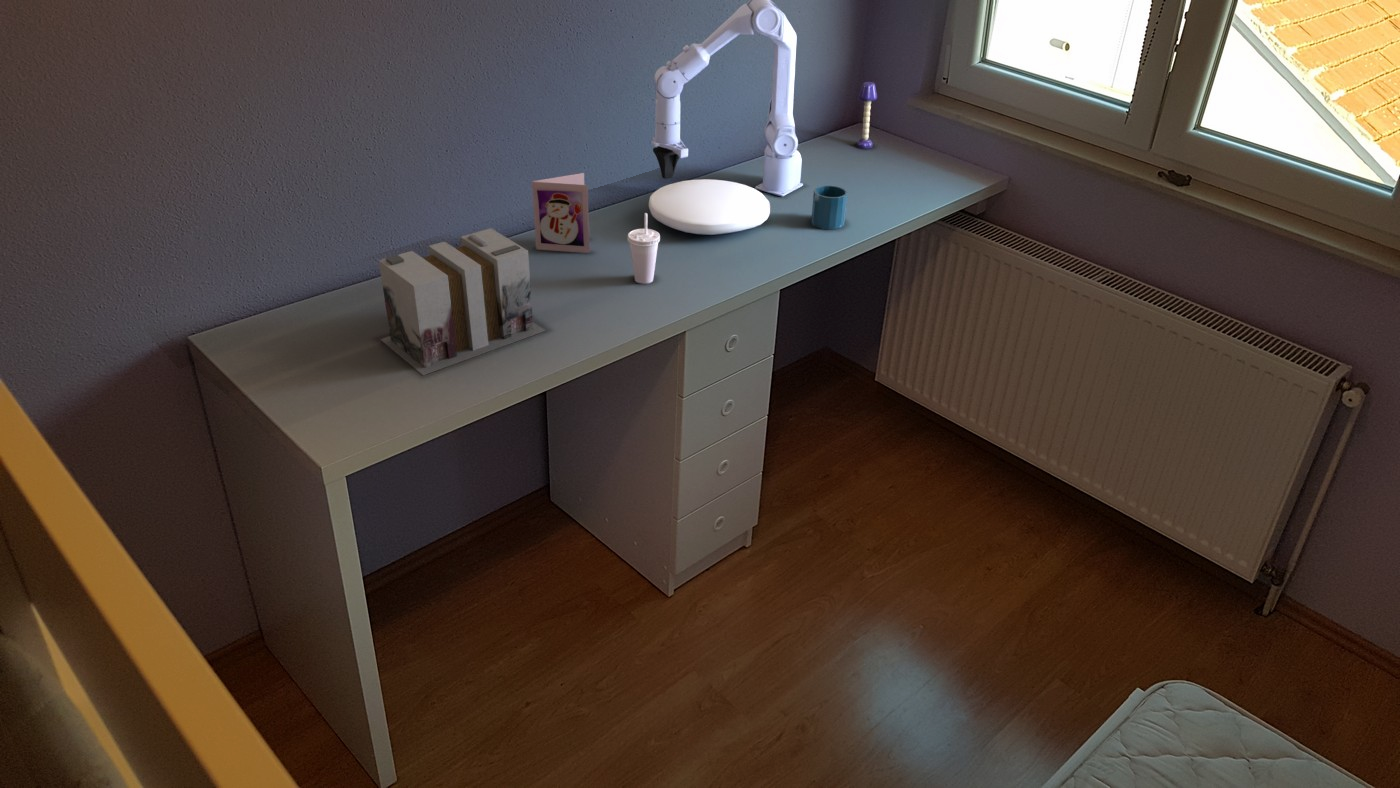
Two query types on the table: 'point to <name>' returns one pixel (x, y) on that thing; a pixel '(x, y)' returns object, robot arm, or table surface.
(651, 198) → the white round cushion
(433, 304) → the model building
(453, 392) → the table surface
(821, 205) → the teacup
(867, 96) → the toy lamp
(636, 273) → the smoothie
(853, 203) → the table surface
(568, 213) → the greeting card
